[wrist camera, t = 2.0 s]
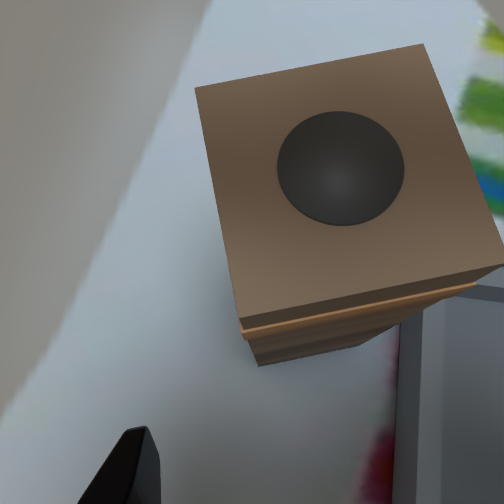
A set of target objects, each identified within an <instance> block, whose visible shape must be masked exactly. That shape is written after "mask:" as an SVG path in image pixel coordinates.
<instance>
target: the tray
mask: <svg viewBox="0 0 504 504" xmlns="http://www.w3.org/2000/svg"><path fill="white" fill-rule="evenodd" d="M475 282H476V285H475V286H473V287H471V288H469V289H467V290H465V291H463V292H461V293H460V294H458V295H456V296H454V297H452V298H447V299H442V300H441V301H439V302H437V303H435V304H433V305H431V306H430V307H428V308H426V309H424V310H422V311H421V312H419V313H417V314H415V315H413V316H412V317H410V318H408V319H406V320H404V321H402V322H401V334H400V354H399V373H398V393H397V412H396V431H395V451H394V470H393V490H392V504H504V268H498V269H497V270H495V271H493V272H491V273H489V274H488V275H486V276H484V277H482V278H480V279H479V280H477V281H475Z"/></svg>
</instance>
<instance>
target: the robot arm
mask: <svg viewBox="0 0 504 504" xmlns="http://www.w3.org/2000/svg"><path fill="white" fill-rule="evenodd" d="M77 504H161V477H160V458H159V453H158V450H157V448H156V445H155V443H154V440H153V438H152V435H151V433H150V430H149V429H148V427H147V426H140V427H135V428H130V429H127V430H126V431H125V432H124V433H123V434H122V436H121V437H120V439H119V441H118V442H117V444H116V445H115V447H114V448H113V450H112V451H111V453H110V454H109V456H108V457H107V459H106V460H105V462H104V463H103V465H102V466H101V468H100V469H99V471H98V472H97V474H96V476H95V477H94V479H93V480H92V482H91V483H90V485H89V486H88V488H87V489H86V491H85V492H84V494H83V495H82V497H81V498H80V500H79V501H78V503H77Z"/></svg>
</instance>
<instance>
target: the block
mask: <svg viewBox="0 0 504 504" xmlns="http://www.w3.org/2000/svg"><path fill="white" fill-rule="evenodd" d="M195 94H196V99H197V104H198V109H199V114H200V120H201V125H202V130H203V136H204V141H205V146H206V151H207V156H208V162H209V167H210V172H211V177H212V182H213V188H214V193H215V198H216V203H217V208H218V214H219V219H220V224H221V229H222V234H223V240H224V245H225V250H226V255H227V260H228V266H229V271H230V276H231V281H232V286H233V292H234V297H235V302H236V307H237V312H238V318H239V323H240V328H241V333H242V335H243V338H244V340H245V341H246V340H248V342H249V345H250V347H251V349H252V352H253V354H254V357H255V359H256V362H257V364H258V367H259V366H264V365H269V364H274V363H278V362H283V361H288V360H293V359H297V358H302V357H307V356H312V355H317V354H321V353H326V352H331V351H336V350H340V349H345V348H350V347H355V346H359V345H361V344H363V343H364V342H366V341H368V340H370V339H372V338H373V337H375V336H377V335H379V334H381V333H383V332H384V331H386V330H388V329H390V328H392V327H393V326H395V325H397V324H399V323H401V322H402V321H404V320H406V319H408V318H410V317H412V316H413V315H415V314H417V313H419V312H421V311H422V310H424V309H426V308H428V307H430V306H431V305H433V304H435V303H437V302H439V301H441V300H442V299H447V298H452V297H454V296H456V295H458V294H460V293H461V292H463V291H465V290H467V289H469V288H471V287H473V286H475V285H476V282H475V281H477V280H479V279H480V278H482V277H484V276H486V275H488V274H489V273H491V272H493V271H495V270H497V269H498V268H500V267H502V266H504V245H503V242H502V240H501V237H500V235H499V232H498V230H497V227H496V225H495V222H494V220H493V217H492V215H491V212H490V210H489V207H488V205H487V202H486V200H485V197H484V195H483V192H482V190H481V187H480V185H479V182H478V180H477V177H476V175H475V172H474V170H473V167H472V165H471V162H470V160H469V157H468V155H467V152H466V150H465V147H464V144H463V142H462V139H461V137H460V134H459V132H458V129H457V127H456V124H455V122H454V119H453V117H452V114H451V112H450V109H449V107H448V104H447V102H446V99H445V97H444V94H443V92H442V89H441V87H440V84H439V82H438V79H437V77H436V74H435V72H434V69H433V67H432V64H431V62H430V59H429V57H428V54H427V52H426V49H425V47H424V44H418V45H413V46H408V47H403V48H397V49H392V50H387V51H382V52H377V53H372V54H366V55H361V56H356V57H351V58H346V59H341V60H335V61H330V62H325V63H320V64H315V65H310V66H304V67H299V68H294V69H289V70H284V71H279V72H273V73H268V74H263V75H258V76H253V77H248V78H242V79H237V80H232V81H227V82H222V83H217V84H211V85H206V86H201V87H196V88H195Z"/></svg>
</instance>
